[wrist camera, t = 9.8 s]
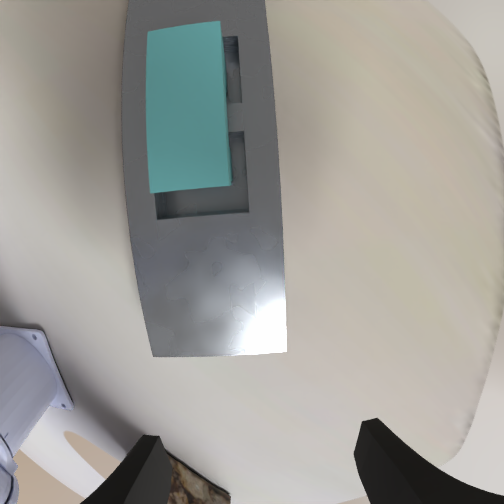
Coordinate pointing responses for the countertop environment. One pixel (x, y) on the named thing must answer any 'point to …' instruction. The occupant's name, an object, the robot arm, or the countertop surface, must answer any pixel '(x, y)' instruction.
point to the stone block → (192, 488)
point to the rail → (209, 199)
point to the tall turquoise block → (187, 108)
